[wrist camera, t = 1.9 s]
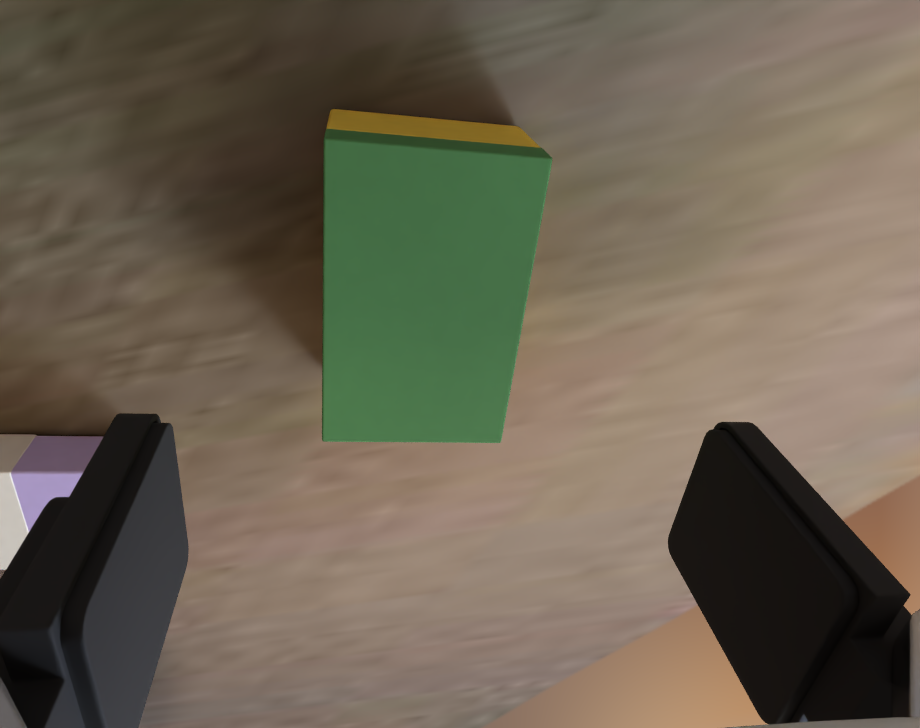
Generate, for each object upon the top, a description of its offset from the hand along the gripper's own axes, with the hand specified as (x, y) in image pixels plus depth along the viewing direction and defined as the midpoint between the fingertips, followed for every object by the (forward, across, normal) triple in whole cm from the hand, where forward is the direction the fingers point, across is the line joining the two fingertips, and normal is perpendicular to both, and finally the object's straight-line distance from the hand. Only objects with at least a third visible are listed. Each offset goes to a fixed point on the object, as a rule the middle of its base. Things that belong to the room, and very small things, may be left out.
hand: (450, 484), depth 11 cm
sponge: (+9, 0, -1) cm, 9 cm away
